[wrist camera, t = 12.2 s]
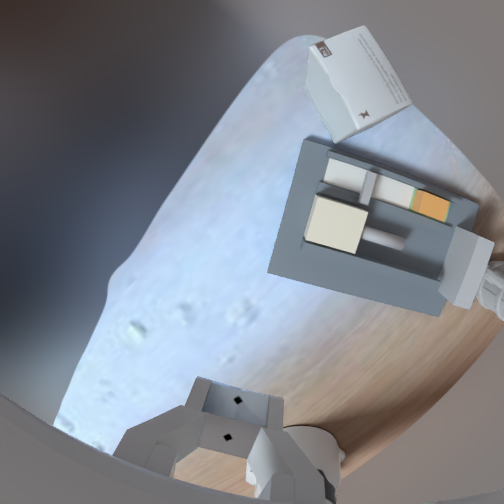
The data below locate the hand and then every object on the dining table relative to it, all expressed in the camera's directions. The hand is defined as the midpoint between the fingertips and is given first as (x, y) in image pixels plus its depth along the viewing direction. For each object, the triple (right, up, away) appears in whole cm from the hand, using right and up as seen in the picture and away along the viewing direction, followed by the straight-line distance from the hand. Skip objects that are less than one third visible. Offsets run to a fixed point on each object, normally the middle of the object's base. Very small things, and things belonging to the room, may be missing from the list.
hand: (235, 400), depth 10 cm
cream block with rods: (+14, +10, +27) cm, 32 cm away
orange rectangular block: (+23, +11, +26) cm, 36 cm away
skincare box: (+11, +23, +25) cm, 36 cm away
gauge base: (+17, +7, +29) cm, 34 cm away
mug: (+36, +2, +29) cm, 46 cm away
